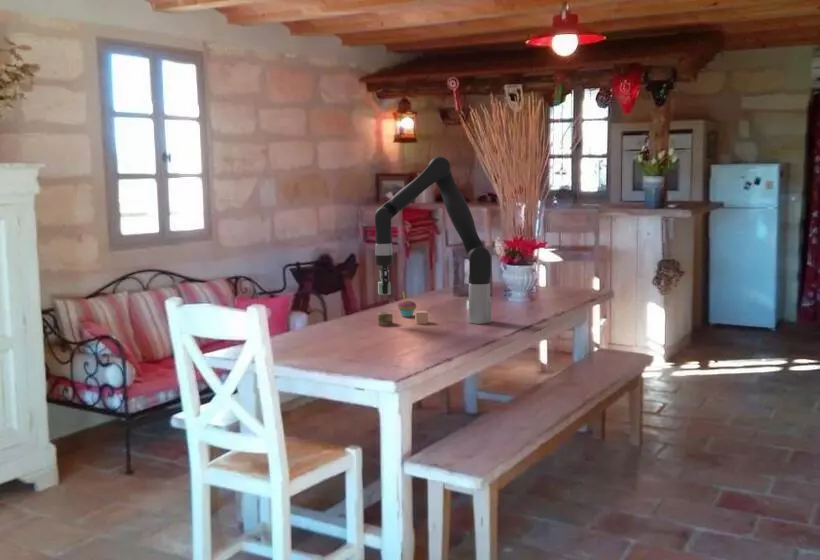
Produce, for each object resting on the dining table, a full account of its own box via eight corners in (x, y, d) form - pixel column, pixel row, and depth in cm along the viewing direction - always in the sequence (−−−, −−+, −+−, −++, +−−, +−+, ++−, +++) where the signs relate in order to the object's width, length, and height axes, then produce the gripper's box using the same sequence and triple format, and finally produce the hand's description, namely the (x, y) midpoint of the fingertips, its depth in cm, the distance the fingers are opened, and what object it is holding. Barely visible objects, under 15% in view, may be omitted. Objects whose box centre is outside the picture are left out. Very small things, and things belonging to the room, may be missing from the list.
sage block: (389, 292, 376) (389, 281, 375) (390, 294, 371) (390, 282, 370) (378, 293, 375) (377, 281, 375) (379, 294, 370) (379, 283, 370)
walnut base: (391, 323, 378) (391, 311, 378) (392, 325, 372) (392, 314, 372) (377, 323, 378) (377, 312, 377) (378, 326, 372) (378, 314, 371)
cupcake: (395, 317, 392) (394, 291, 390) (402, 314, 400) (401, 288, 398) (412, 318, 389) (412, 291, 387) (419, 314, 397) (419, 289, 395)
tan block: (426, 321, 380) (426, 310, 379) (427, 323, 375) (427, 312, 374) (415, 322, 379) (414, 311, 378) (416, 324, 374) (416, 312, 374)
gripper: (394, 255, 364) (394, 295, 367) (390, 251, 378) (391, 290, 381) (376, 255, 363) (377, 295, 366) (373, 252, 377) (374, 290, 380)
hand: (384, 292), depth 373 cm, fingers closed on sage block, 5 cm apart
